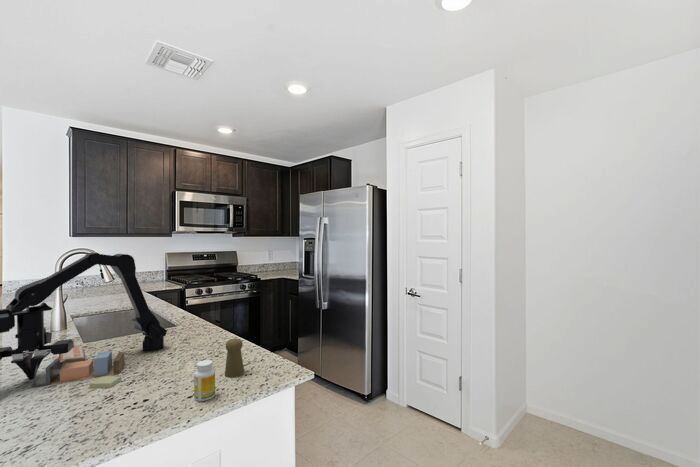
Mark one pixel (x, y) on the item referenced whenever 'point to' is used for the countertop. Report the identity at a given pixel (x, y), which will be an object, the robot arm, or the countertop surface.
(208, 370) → the supplement bottle
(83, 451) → the countertop surface
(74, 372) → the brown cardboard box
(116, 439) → the countertop surface
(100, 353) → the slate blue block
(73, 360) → the packaged product
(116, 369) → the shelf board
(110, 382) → the olive book
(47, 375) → the bookend
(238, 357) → the cork
